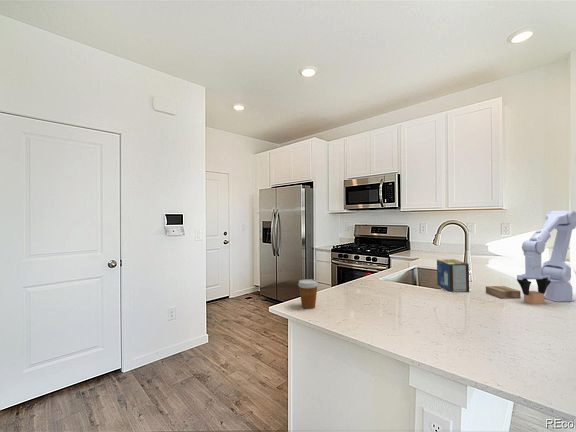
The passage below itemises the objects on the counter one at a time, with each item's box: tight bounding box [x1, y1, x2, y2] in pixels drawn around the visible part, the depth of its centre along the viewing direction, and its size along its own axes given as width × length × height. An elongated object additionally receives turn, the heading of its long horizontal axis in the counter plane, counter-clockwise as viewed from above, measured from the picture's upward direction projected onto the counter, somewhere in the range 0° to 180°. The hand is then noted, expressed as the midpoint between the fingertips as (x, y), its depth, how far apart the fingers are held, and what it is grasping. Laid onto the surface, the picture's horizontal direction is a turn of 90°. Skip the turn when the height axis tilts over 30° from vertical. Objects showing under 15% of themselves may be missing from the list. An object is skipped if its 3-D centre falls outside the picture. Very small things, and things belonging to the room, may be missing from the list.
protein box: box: [436, 259, 470, 293], centre depth 155 cm, size 10×15×16 cm
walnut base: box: [485, 285, 522, 300], centre depth 140 cm, size 10×10×4 cm
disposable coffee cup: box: [297, 278, 319, 310], centre depth 127 cm, size 10×10×12 cm
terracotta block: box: [523, 290, 545, 306], centre depth 128 cm, size 5×5×5 cm
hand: (533, 294), depth 128 cm, fingers open, 7 cm apart
